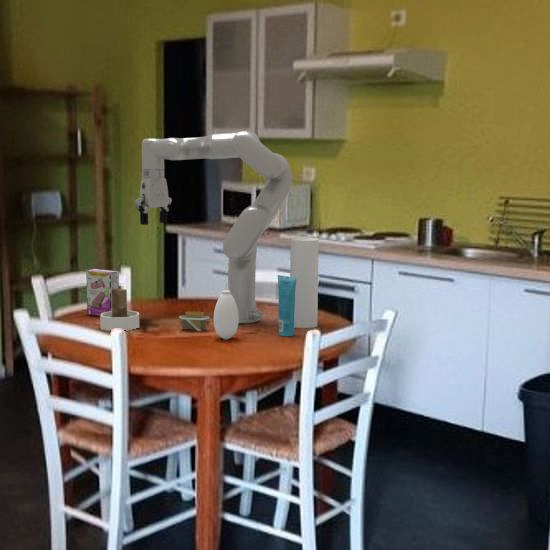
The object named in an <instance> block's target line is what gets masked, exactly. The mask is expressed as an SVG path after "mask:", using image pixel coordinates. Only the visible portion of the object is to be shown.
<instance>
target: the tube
mask: <svg viewBox="0 0 550 550" xmlns="http://www.w3.org/2000/svg"><path fill="white" fill-rule="evenodd" d="M296 278H297V277H290V276H287V275H282V274H280V275H279V274H278V275H277V285H278V286H277V287H278V335H279V336H280V337H293V336H294V335H295V327H294V313H295V289H296Z"/></svg>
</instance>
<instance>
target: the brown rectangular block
mask: <svg viewBox="0 0 550 550" xmlns="http://www.w3.org/2000/svg"><path fill="white" fill-rule="evenodd" d="M127 295H128V293H127V289H124V288H119V289H118V288H116V289H112V317H127V310H128V296H127Z"/></svg>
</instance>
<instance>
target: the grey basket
mask: <svg viewBox="0 0 550 550" xmlns="http://www.w3.org/2000/svg"><path fill="white" fill-rule="evenodd" d="M178 318H179V319H181V321H182V324H181V325H182V326H181V328H182V329H193V330H192V331H197V332H201V331H202V330H206V331H207V320H209V319H210V316H209V315H204V311H198V312H197V311H185V314H183V315H181V314H180V315H179V316H178Z"/></svg>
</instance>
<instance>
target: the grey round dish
mask: <svg viewBox="0 0 550 550" xmlns="http://www.w3.org/2000/svg"><path fill="white" fill-rule="evenodd" d="M99 319H100V320H99V321H100V330H101V331H107V332H111V331H110V330H111V329H112V328H122V329H125V330H126V331H125V332H130V331H133V330H132V329H135V330H137V329H136V328H139V329H140V312H139V311H134V310H128V309H127V317H112V311H109V312H104V313H101V315H100V317H99ZM129 330H130V331H129Z"/></svg>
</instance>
